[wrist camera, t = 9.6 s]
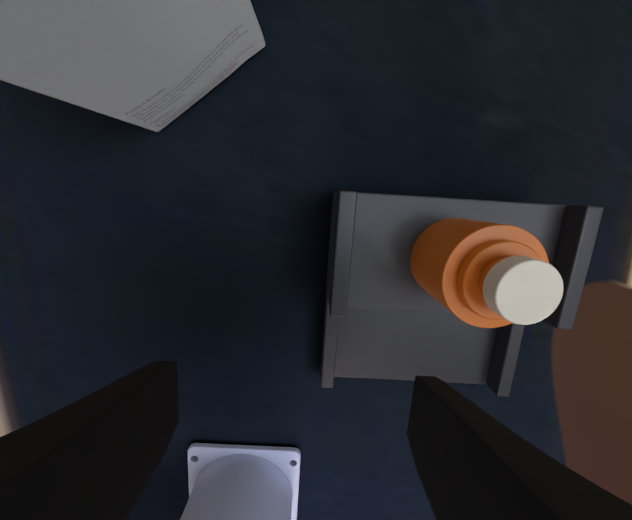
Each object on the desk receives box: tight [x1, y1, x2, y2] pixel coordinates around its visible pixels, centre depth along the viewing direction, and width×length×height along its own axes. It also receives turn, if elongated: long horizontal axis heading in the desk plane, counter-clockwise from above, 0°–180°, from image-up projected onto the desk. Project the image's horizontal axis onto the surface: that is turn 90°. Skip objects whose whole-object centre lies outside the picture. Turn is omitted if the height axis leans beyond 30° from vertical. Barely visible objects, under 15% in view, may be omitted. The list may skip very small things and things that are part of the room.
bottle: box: [410, 218, 563, 328], centre depth 12 cm, size 4×4×6 cm
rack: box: [320, 190, 604, 396], centre depth 17 cm, size 12×12×5 cm
